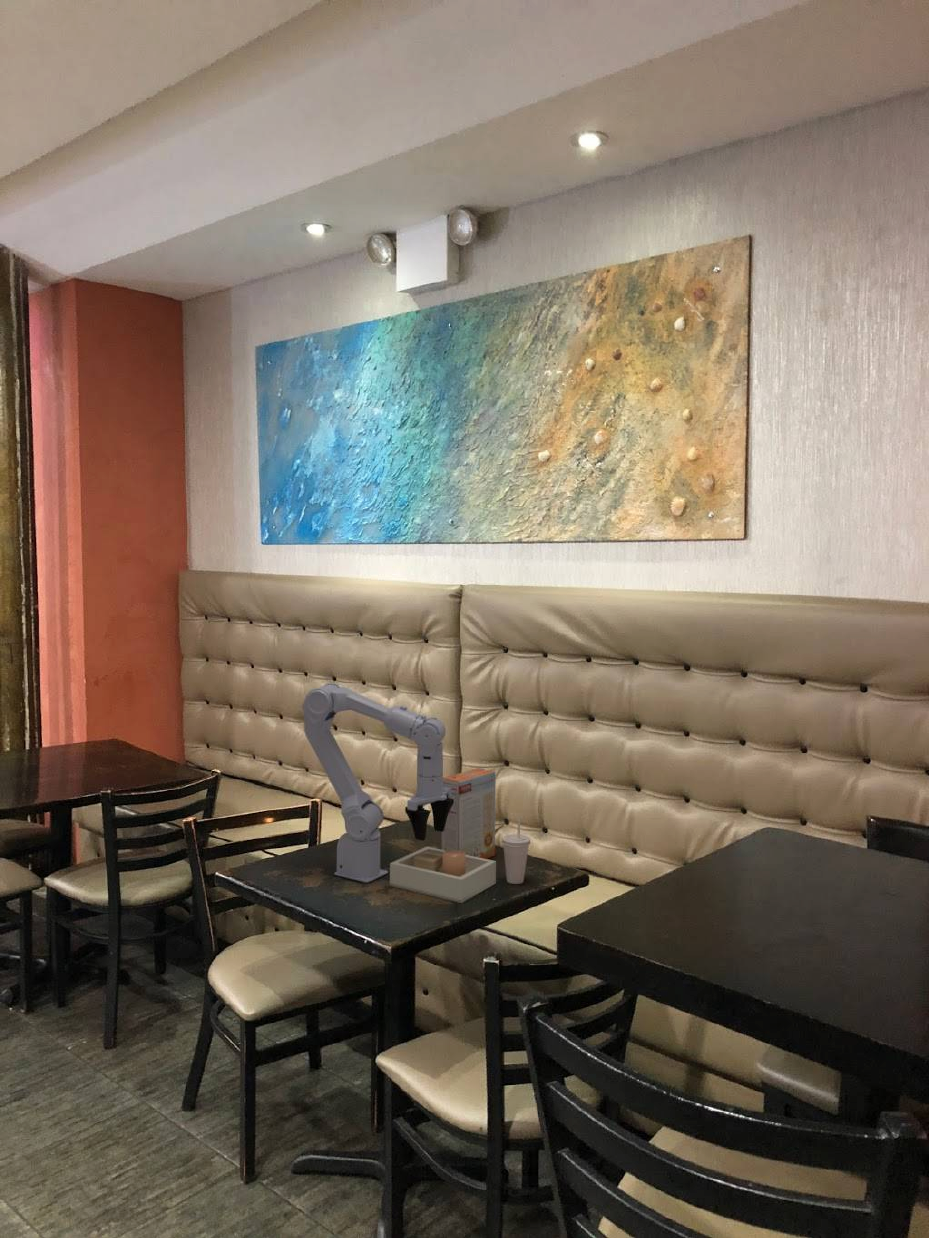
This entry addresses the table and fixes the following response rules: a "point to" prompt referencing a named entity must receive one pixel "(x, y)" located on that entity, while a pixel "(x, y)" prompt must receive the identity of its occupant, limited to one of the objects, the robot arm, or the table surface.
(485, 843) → the cracker box
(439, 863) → the cube
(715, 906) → the table surface
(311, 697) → the robot arm
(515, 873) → the smoothie
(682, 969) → the table surface
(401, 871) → the tote
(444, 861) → the cylinder
